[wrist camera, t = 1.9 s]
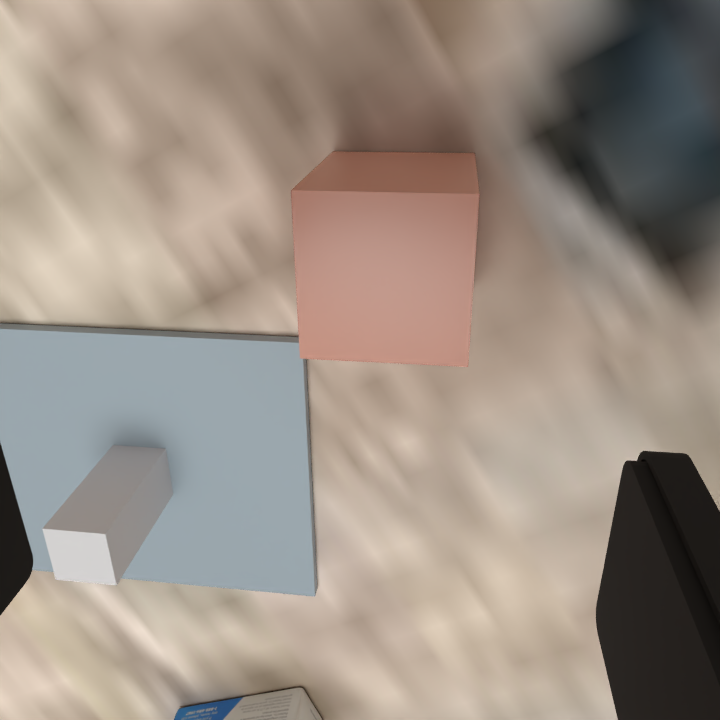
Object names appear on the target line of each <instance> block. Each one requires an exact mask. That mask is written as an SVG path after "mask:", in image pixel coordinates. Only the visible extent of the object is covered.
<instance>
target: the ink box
mask: <svg viewBox="0 0 720 720" xmlns="http://www.w3.org/2000/svg"><path fill="white" fill-rule="evenodd" d="M174 720H322V718H321V717H320V715H319V713H318V712H317V710H316V709H315V707H314V705H313V704H312V702H311V701H310V699H309V697H308V696H307V694H306V692H305V691H304V689H303V688H293V689H287V690H282V691H276V692H270V693H264V694H258V695H253V696H247V697H241V698H235V699H230V700H225V701H218V702H212V703H206V704H200V705H195V706H189V707H184V708H180V709H179V710H178V711H177V713H176V716H175V718H174Z"/></svg>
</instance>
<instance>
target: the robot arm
mask: <svg viewBox="0 0 720 720" xmlns="http://www.w3.org/2000/svg"><path fill="white" fill-rule="evenodd" d="M32 568H33V554H32V551H31V547H30V544H29V540H28V537H27V533H26V530H25V526H24V523H23V520H22V516H21V513H20V509H19V506H18V502H17V499H16V495H15V492H14V488H13V485H12V481H11V478H10V474H9V471H8V467H7V464H6V460H5V457H4V453H3V450H2V446H1V443H0V615H1V614H2V613H3V611H4V610H5V609H6V607H7V606H8V605H9V604H10V602H11V601H12V600H13V598H14V597H15V596H16V595H17V593H18V592H19V591H20V589H21V588H22V587H23V586H24V584H25V583H26V582H27V580H28V578H29V577H30V574H31V572H32ZM596 624H597V631H598V636H599V640H600V645H601V649H602V653H603V658H604V662H605V666H606V670H607V675H608V679H609V683H610V687H611V692H612V696H613V700H614V704H615V709H616V713H617V717H618V720H720V511H719V510H718V508H717V506H716V504H715V502H714V500H713V499H712V497H711V495H710V493H709V491H708V489H707V488H706V486H705V484H704V482H703V480H702V478H701V477H700V475H699V473H698V471H697V469H696V467H695V466H694V464H693V462H692V460H691V458H690V457H689V456H688V455H687V454H684V453H668V452H651V451H643V452H641V453H640V455H639V457H638V460H637V461H626V462H625V464H624V466H623V470H622V475H621V480H620V485H619V490H618V496H617V501H616V506H615V511H614V517H613V522H612V527H611V532H610V537H609V543H608V548H607V553H606V558H605V564H604V569H603V574H602V579H601V584H600V590H599V595H598V600H597V606H596Z"/></svg>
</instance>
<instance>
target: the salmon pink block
mask: <svg viewBox="0 0 720 720" xmlns="http://www.w3.org/2000/svg"><path fill="white" fill-rule="evenodd" d="M479 196H480V193H479V185H478V176H477V168H476V159H475V153H429V152H340V151H333V152H332V153H331V154H330V155H329V156H328V157H327V158H325V159H324V160H323V161H322V162H321V163H320V164H319V165H318V166H317V167H316V168H315V169H314V170H313V171H311V172H310V173H309V174H308V175H307V176H306V177H305V178H304V179H303V180H302V181H301V182H300V183H298V184H297V185H296V186H295V187H294V188H293V189H292V190H291V200H292V219H293V238H294V257H295V276H296V295H297V314H298V332H299V351H300V358H301V359H321V360H341V361H361V362H381V363H401V364H421V365H441V366H461V367H468V361H469V346H470V331H471V316H472V301H473V286H474V271H475V256H476V241H477V226H478V211H479Z"/></svg>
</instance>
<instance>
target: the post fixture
mask: <svg viewBox="0 0 720 720" xmlns="http://www.w3.org/2000/svg"><path fill="white" fill-rule="evenodd" d="M0 443H1V446H2V450H3V453H4V457H5V460H6V464H7V467H8V471H9V474H10V478H11V481H12V485H13V488H14V492H15V495H16V499H17V502H18V506H19V509H20V513H21V516H22V520H23V523H24V526H25V530H26V533H27V537H28V540H29V544H30V547H31V551H32V554H33V568H32V570H38V571H49V572H54V575H55V578H56V580H66V581H76V582H87V583H97V584H108V585H117V584H118V582H119V581H120V579H121V578H123V579H134V580H145V581H155V582H166V583H177V584H187V585H198V586H209V587H219V588H230V589H241V590H251V591H262V592H273V593H283V594H294V595H305V596H315V595H316V591H317V572H316V551H315V530H314V510H313V489H312V468H311V448H310V427H309V406H308V386H307V365H306V359H301V358H300V351H299V337H290V336H268V335H246V334H224V333H202V332H181V331H159V330H137V329H115V328H93V327H71V326H49V325H28V324H6V323H0Z"/></svg>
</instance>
